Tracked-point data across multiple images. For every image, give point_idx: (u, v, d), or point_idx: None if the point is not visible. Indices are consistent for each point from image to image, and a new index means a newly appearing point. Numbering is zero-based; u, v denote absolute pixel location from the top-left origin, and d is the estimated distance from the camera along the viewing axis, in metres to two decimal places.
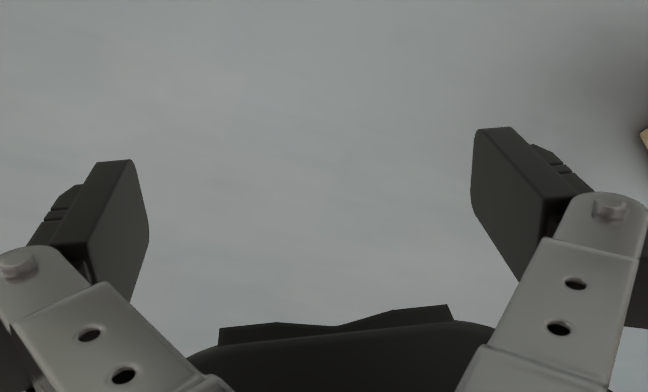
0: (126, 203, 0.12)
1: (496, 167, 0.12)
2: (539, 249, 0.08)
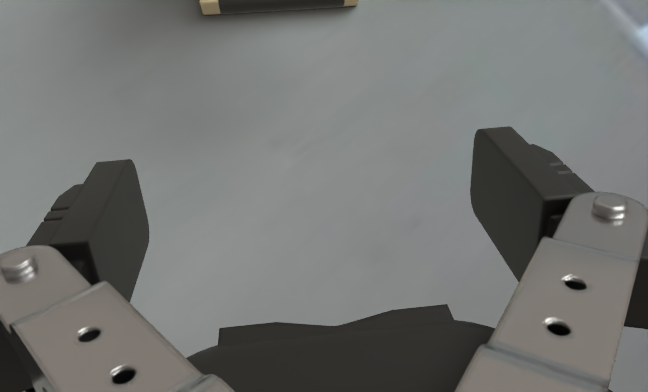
0: (126, 203, 0.12)
1: (496, 167, 0.12)
2: (539, 249, 0.08)
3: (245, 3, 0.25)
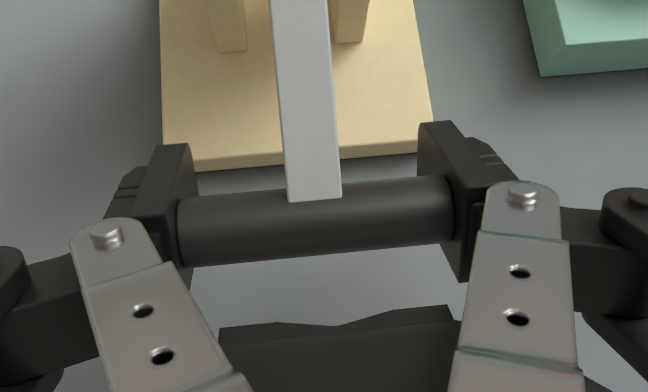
0: (186, 183, 0.13)
1: (433, 159, 0.13)
2: (478, 243, 0.08)
3: (239, 255, 0.11)
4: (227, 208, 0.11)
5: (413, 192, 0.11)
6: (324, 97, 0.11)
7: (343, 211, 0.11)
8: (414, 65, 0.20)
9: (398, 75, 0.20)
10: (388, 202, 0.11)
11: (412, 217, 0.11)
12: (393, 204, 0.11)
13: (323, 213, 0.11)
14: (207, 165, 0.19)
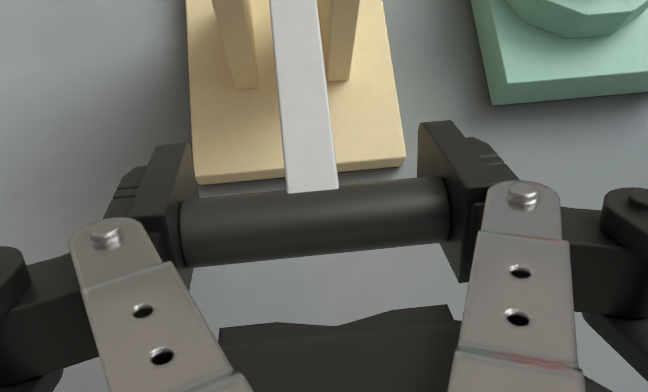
0: (186, 183, 0.13)
1: (433, 159, 0.13)
2: (478, 243, 0.08)
3: (238, 242, 0.12)
4: (229, 199, 0.12)
5: (406, 183, 0.12)
6: (319, 103, 0.13)
7: (340, 197, 0.12)
8: (389, 98, 0.25)
9: (377, 107, 0.25)
10: (383, 191, 0.12)
11: (407, 202, 0.12)
12: (388, 192, 0.12)
13: (320, 200, 0.12)
14: (227, 178, 0.25)
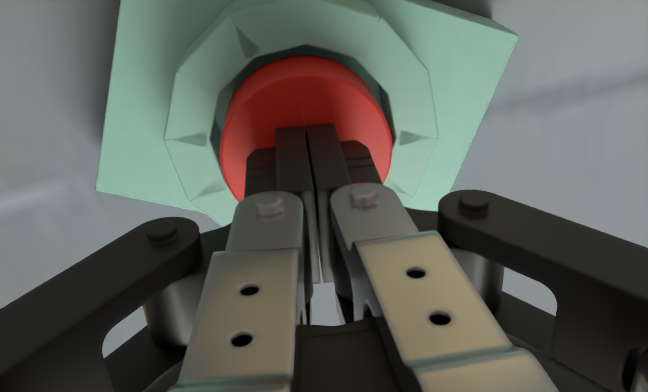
0: None
1: (310, 161, 0.13)
2: (362, 255, 0.08)
3: None
4: None
5: None
6: None
7: None
8: None
9: None
10: None
11: None
12: None
13: None
14: None
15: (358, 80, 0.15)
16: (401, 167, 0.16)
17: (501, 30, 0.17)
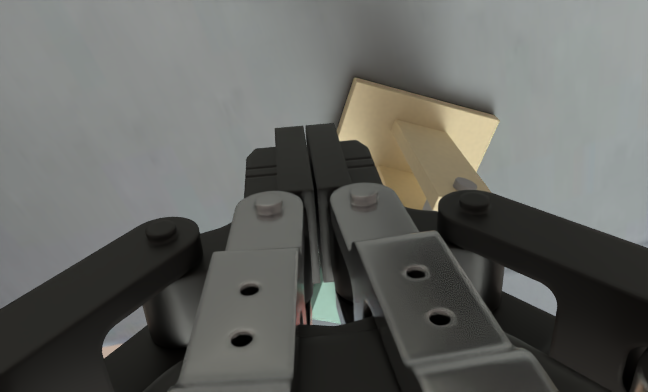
0: None
1: (310, 161, 0.13)
2: (362, 255, 0.08)
3: None
4: None
5: None
6: None
7: None
8: None
9: None
10: None
11: None
12: None
13: None
14: (349, 95, 0.44)
15: None
16: None
17: None
